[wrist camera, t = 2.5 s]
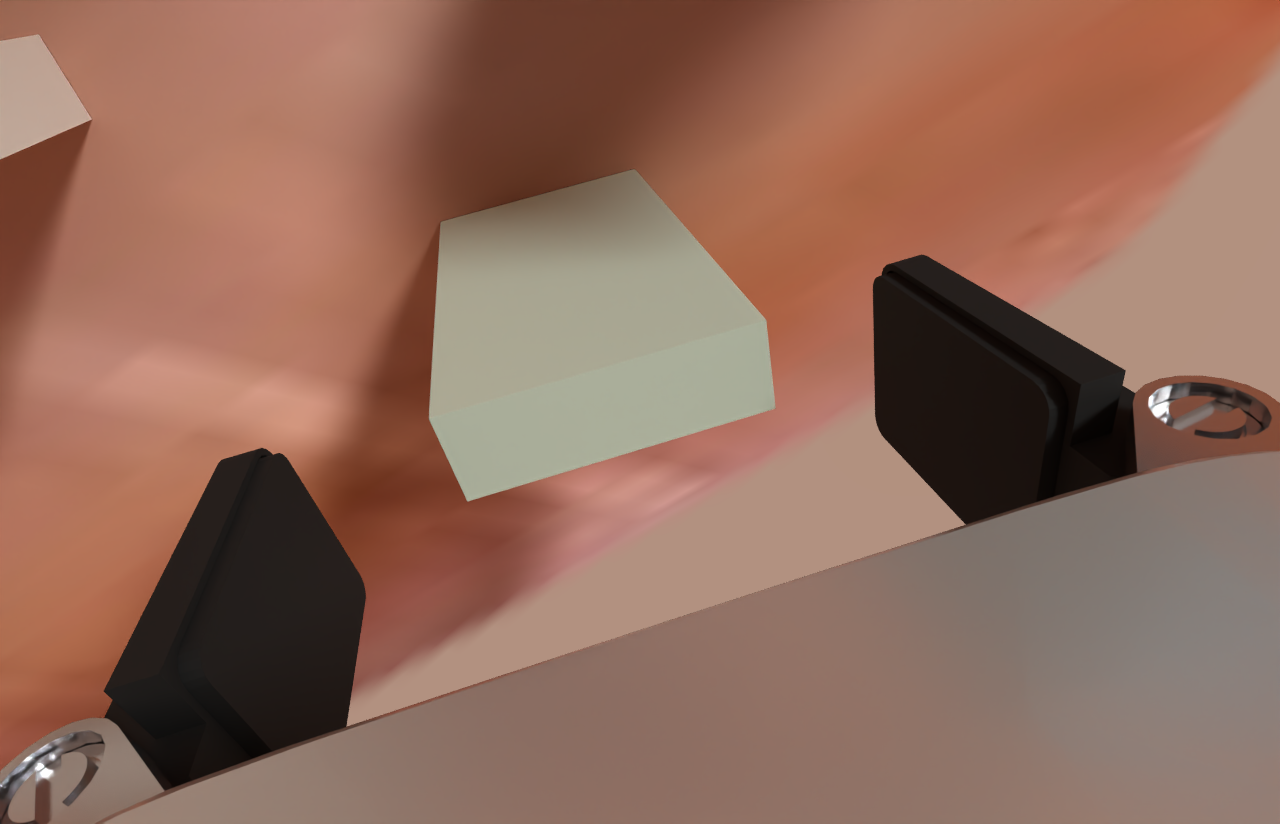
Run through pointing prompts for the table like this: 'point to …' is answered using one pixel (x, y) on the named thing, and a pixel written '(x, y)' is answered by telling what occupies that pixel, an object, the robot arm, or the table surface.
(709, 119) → the table surface
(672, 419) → the tile
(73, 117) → the tile
